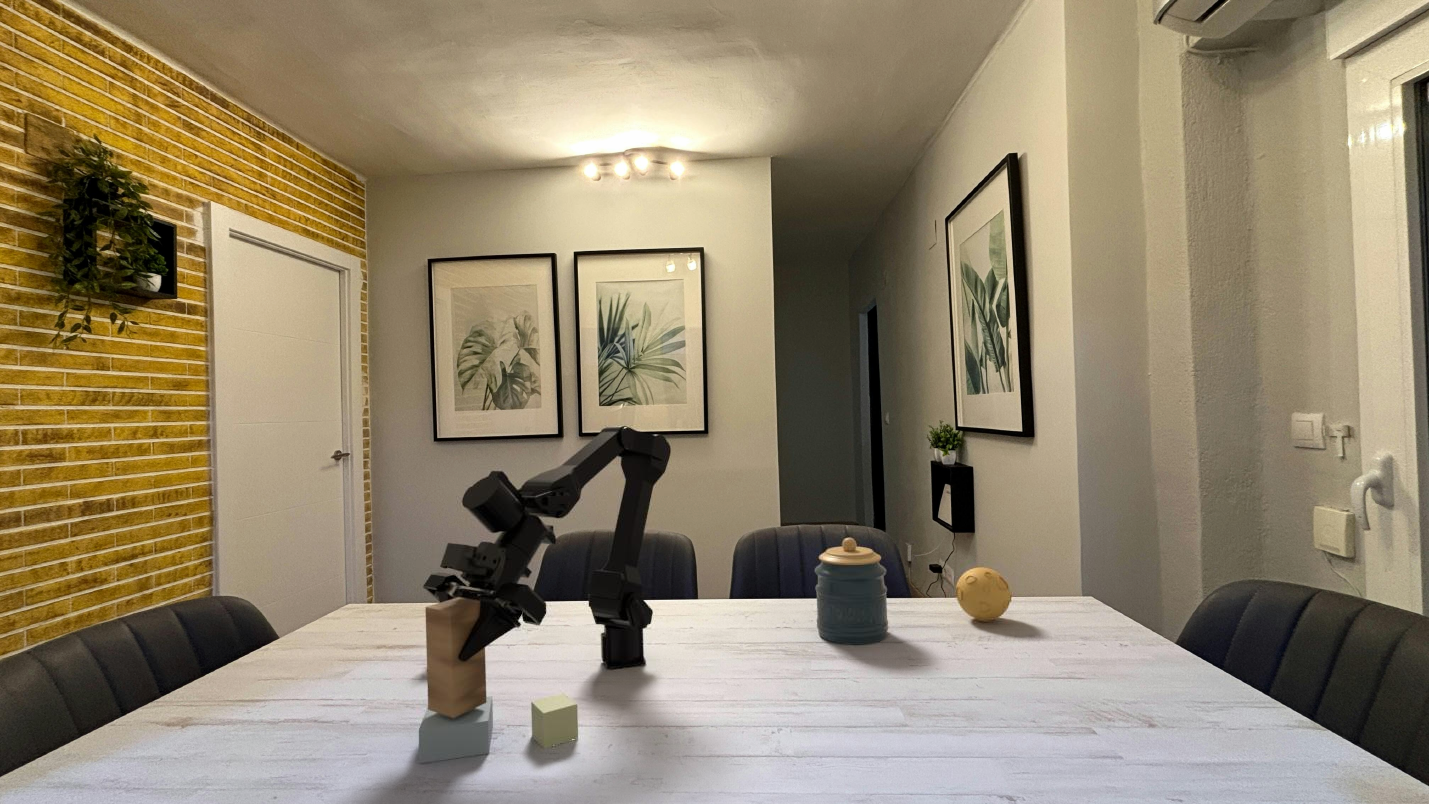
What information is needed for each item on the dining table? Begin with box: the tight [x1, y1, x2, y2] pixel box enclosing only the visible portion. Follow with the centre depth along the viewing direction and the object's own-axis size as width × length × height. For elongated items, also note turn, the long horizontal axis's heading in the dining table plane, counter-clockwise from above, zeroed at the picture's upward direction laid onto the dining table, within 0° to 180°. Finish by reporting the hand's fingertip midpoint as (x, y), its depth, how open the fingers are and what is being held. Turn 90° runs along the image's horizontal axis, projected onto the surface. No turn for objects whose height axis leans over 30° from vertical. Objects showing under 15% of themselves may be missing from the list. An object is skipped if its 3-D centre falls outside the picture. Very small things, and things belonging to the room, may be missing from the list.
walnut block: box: [425, 597, 487, 718], centre depth 88 cm, size 5×5×13 cm
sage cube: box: [530, 692, 579, 750], centre depth 89 cm, size 4×4×4 cm
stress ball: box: [955, 566, 1012, 623], centre depth 132 cm, size 10×10×10 cm
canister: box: [814, 537, 889, 645], centre depth 127 cm, size 13×13×18 cm
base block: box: [418, 695, 494, 764], centre depth 88 cm, size 8×8×4 cm
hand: (447, 656), depth 87 cm, fingers closed on walnut block, 5 cm apart
